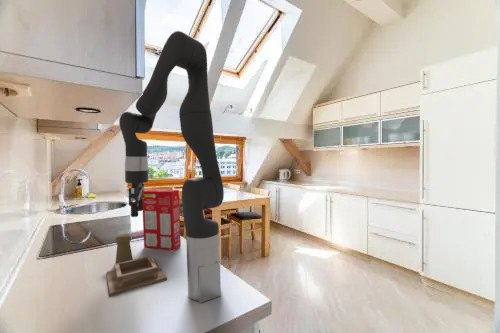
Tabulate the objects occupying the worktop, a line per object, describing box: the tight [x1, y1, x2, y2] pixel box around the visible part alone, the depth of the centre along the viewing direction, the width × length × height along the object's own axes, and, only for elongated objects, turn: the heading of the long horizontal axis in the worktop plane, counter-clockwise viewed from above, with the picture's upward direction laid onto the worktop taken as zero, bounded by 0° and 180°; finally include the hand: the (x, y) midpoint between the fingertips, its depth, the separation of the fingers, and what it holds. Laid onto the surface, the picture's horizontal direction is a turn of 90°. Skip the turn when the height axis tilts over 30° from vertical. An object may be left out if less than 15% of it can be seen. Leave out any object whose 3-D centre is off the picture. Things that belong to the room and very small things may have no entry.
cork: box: [114, 233, 134, 265], centre depth 91 cm, size 6×6×11 cm
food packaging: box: [142, 189, 182, 251], centre depth 107 cm, size 15×5×25 cm, turn 76°
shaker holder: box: [106, 255, 168, 297], centre depth 81 cm, size 16×16×4 cm
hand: (137, 213), depth 89 cm, fingers open, 8 cm apart
